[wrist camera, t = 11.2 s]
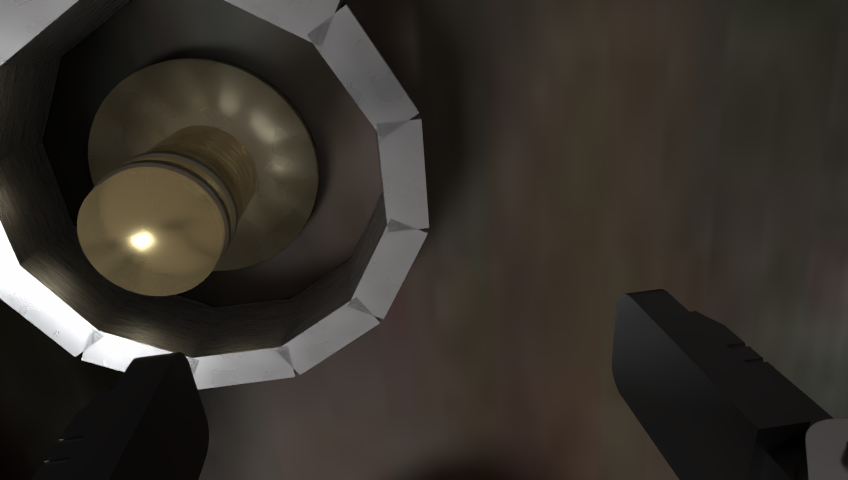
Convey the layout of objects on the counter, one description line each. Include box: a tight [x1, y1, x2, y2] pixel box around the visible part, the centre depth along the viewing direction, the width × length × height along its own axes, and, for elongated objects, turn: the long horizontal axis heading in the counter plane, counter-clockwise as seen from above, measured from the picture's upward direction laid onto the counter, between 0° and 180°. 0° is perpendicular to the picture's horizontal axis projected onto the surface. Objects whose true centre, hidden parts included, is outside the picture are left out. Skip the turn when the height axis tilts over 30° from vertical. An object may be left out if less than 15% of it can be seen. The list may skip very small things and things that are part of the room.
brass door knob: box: [77, 57, 319, 296], centre depth 19 cm, size 9×9×7 cm
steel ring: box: [0, 0, 429, 389], centre depth 21 cm, size 17×17×4 cm
